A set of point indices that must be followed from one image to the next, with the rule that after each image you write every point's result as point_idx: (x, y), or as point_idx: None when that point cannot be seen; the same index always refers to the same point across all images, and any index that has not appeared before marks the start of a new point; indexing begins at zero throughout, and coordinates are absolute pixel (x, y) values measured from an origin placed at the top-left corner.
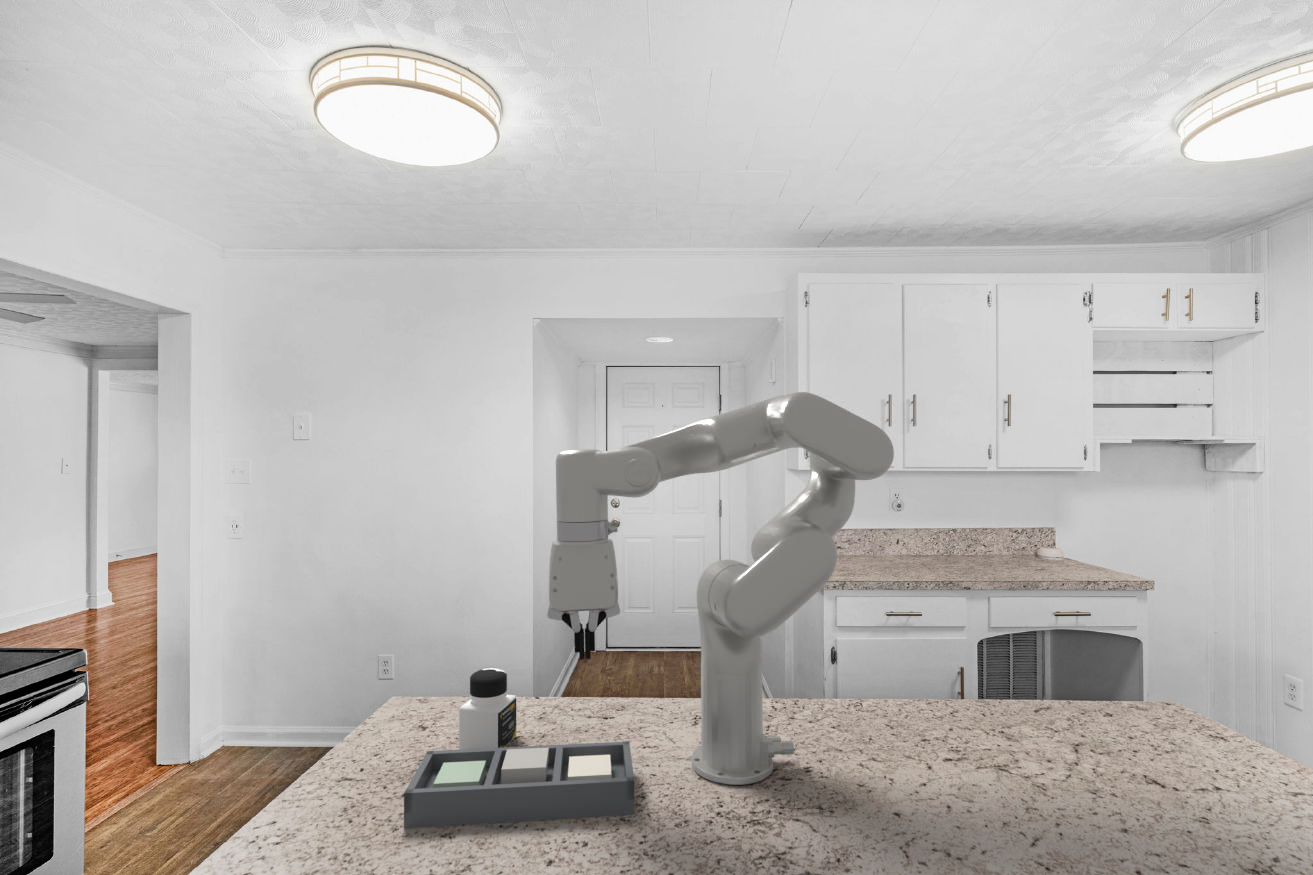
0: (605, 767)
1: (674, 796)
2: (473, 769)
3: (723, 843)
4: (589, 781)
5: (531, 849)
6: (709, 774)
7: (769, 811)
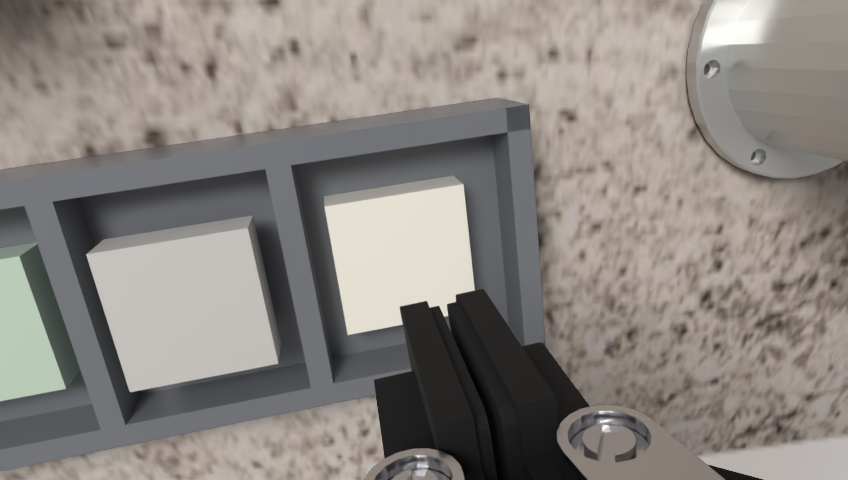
0: (455, 271)
1: (616, 231)
2: (5, 320)
3: (692, 400)
4: None
5: (297, 466)
6: (728, 155)
7: (814, 280)
